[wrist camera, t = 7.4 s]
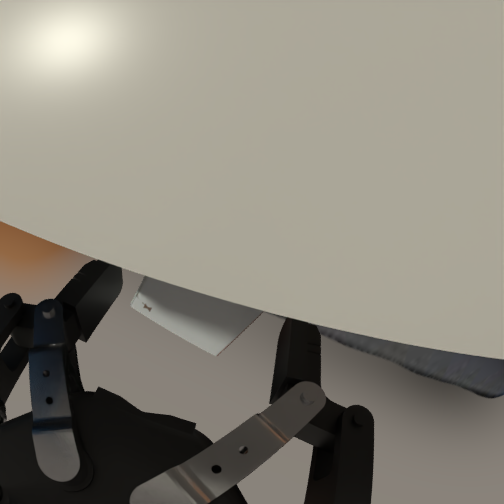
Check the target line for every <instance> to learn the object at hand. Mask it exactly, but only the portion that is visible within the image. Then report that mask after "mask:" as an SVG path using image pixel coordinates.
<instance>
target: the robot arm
mask: <svg viewBox="0 0 504 504" xmlns="http://www.w3.org/2000/svg"><path fill="white" fill-rule="evenodd" d="M122 284H123V279H122V268H121V267H119V266H116V265H113V264H110V263H107V262H104V261H101V260H99V259H98V260H97V261H95V260H93V261H91V262H89V263H87V264H85V265H84V266H83V267H82V268H81V269H80V271H79V272H78V273H77V274H76V275H75V276H74V277H73V279H71V280H70V281H69V283H68V284H67V285H66V286H65V287H64V288H63V289H62V291H61V292H60V293H59V294H58V295H57V296H56V298H55V299H45V300H43V301H41V302H40V303H39V304H38V305H32V304H26V303H23V301H22V299H21V297H20V295H18V294H16V293H9V294H7V295H5V296H3V297H2V298H1V299H0V350H1V347H2V346H3V344H4V343H5V341H6V340H7V338H8V337H9V335H10V334H11V336H12V337H11V338H10V340H9V341H8V343H7V344H6V346H5V347H4V349H3V350H2V352H1V353H0V504H247V502H246V500H245V499H244V497H243V495H242V493H241V491H240V490H239V488H238V486H237V483H238V482H240V481H241V480H242V479H244V478H245V477H246V476H248V475H249V474H250V473H252V472H253V471H254V470H255V469H257V468H258V467H259V466H260V465H261V464H263V463H264V462H265V461H266V460H267V459H269V458H270V457H271V456H272V455H273V454H275V453H276V452H277V451H278V450H279V449H280V448H281V447H283V446H284V445H285V444H286V443H287V442H288V441H289V440H290V439H292V437H296V438H298V439H300V440H303V441H305V442H307V443H309V444H311V445H313V453H312V460H311V466H310V473H309V479H308V485H307V491H306V496H305V502H304V504H371V493H372V479H373V459H374V457H373V456H374V419H373V416H372V414H371V412H370V411H369V410H368V409H367V408H365V407H363V406H360V405H352V406H350V407H348V408H345V407H343V406H341V405H338V404H336V403H334V402H332V401H330V400H329V399H328V398H327V397H326V396H325V393H324V391H323V390H322V389H321V355H320V354H321V347H320V346H321V335H320V333H319V331H318V329H317V326H316V325H312V324H308V322H305V321H301V320H297V319H293V318H289V317H287V318H286V320H285V322H284V325H283V327H282V329H281V332H280V335H279V339H278V345H277V352H276V360H275V368H274V375H273V382H272V389H271V396H270V402H269V404H272V405H271V406H269V407H268V408H267V409H265V410H264V411H263V412H261V413H260V414H255V415H254V416H252V417H251V418H249V419H248V420H247V421H245V422H244V423H242V424H241V425H240V426H239V427H237V428H236V429H234V430H233V431H231V432H230V433H229V434H227V435H226V436H224V437H223V438H221V439H220V440H218V441H217V442H215V443H214V444H213V442H212V441H211V440H210V439H209V438H207V437H206V436H205V435H204V434H202V433H201V432H199V431H198V430H196V429H195V426H196V423H193V422H190V421H187V420H183V419H180V418H177V417H174V416H171V415H163V414H154V413H147V412H142V411H140V410H139V409H137V408H136V407H135V406H133V405H132V404H130V403H129V402H127V401H126V400H125V399H123V398H122V397H120V396H119V395H116V394H114V393H112V392H109V391H107V390H105V389H103V388H100V387H98V388H97V390H96V392H91V391H86V392H85V391H84V388H83V385H82V382H81V378H80V371H79V365H78V358H77V350H76V345H75V343H76V342H77V340H78V339H80V340H82V341H84V342H87V341H88V339H89V338H90V336H91V334H92V333H93V331H94V330H95V328H96V327H97V325H98V324H99V322H100V321H101V320H102V318H103V317H104V315H105V314H106V312H107V311H108V309H109V308H110V306H111V305H112V304H113V302H114V301H115V299H116V298H117V297H118V295H119V293H120V292H121V289H122ZM28 361H29V379H30V393H31V404H32V411H31V412H29V413H26V414H24V415H21V416H19V417H17V418H14V419H11V420H9V421H6V420H7V416H6V407H5V403H6V401H7V399H8V397H9V395H10V393H11V391H12V389H13V388H14V385H15V384H16V382H17V380H18V379H19V377H20V375H21V373H22V371H23V370H24V368H25V366H26V365H27V363H28Z"/></svg>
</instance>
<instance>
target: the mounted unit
mask: <svg viewBox="0 0 504 504" xmlns="http://www.w3.org/2000/svg"><path fill="white" fill-rule="evenodd" d="M0 221H2V222H4V223H6V224H9V225H11V226H14V227H16V228H18V229H21V230H23V231H26V232H28V233H31V234H33V235H35V236H38V237H40V238H43V239H46V240H48V241H51V242H53V243H56V244H58V245H61V246H63V247H66V248H69V249H71V250H74V251H77V252H80V253H82V254H85V255H88V256H90V257H93V258H96V259H99V260H101V261H104V262H107V263H110V264H113V265H116V266H119V267H121V268H124V269H127V270H130V271H133V272H136V273H139V274H142V275H145V276H148V277H151V278H154V279H157V280H161V281H164V282H167V283H170V284H173V285H176V286H180V287H183V288H186V289H189V290H193V291H196V292H199V293H202V294H206V295H209V296H213V297H216V298H219V299H223V300H226V301H230V302H233V303H237V304H240V305H244V306H248V307H251V308H255V309H259V310H262V311H266V312H270V313H274V314H277V315H281V316H285V317H289V318H293V319H297V320H301V321H305V322H309V323H313V324H317V325H322V326H326V327H330V328H334V329H339V330H343V331H348V332H352V333H357V334H361V335H366V336H370V337H375V338H380V339H385V340H390V341H395V342H400V343H405V344H410V345H416V346H421V347H427V348H432V349H438V350H444V351H450V352H456V353H462V354H469V355H476V356H483V357H490V358H498V359H504V0H0Z"/></svg>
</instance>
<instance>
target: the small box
mask: <svg viewBox="0 0 504 504" xmlns="http://www.w3.org/2000/svg"><path fill="white" fill-rule="evenodd" d="M130 305H131V307H132V308H134V309H135V310H137V311H139V312H140V313H142V314H143V315H145V316H146V317H148V318H149V319H151V320H153V321H154V322H156V323H157V324H159V325H161V326H163V327H164V328H166V329H168V330H169V331H171V332H173V333H174V334H176V335H178V336H180V337H181V338H183V339H185V340H187V341H188V342H190V343H192V344H194V345H196V346H197V347H199V348H201V349H203V350H204V351H206V352H208V353H210V354H212V355H214V356H218V355H219V354H220V353H221V352H222V351H223V350H224V349H225V348H226V347H228V346H229V345H230V344H231V343H232V342H233V341H234V340H235V339H236V338H237V337H238V336H239V335H240V334H241V333H242V332H243V331H244V330H245V329H246V328H247V327H248V326H249V325H250V324H252V322H254V321H255V320H256V319H257V318H258V317H259V316H260V315H261V314H262V313H263V312H264V311H262V310H259V309H255V308H251V307H248V306H244V305H240V304H237V303H233V302H230V301H226V300H223V299H219V298H216V297H213V296H209V295H206V294H202V293H199V292H196V291H193V290H189V289H186V288H183V287H180V286H176V285H173V284H170V283H167V282H164V281H161V280H157V279H154V278H151V277H148V276H145V277H144V279H143V281H142V283H141V285H140V287H139V289H138V291H137V292H136V294H135V296H134V298H133V300H132V302H131V304H130Z"/></svg>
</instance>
